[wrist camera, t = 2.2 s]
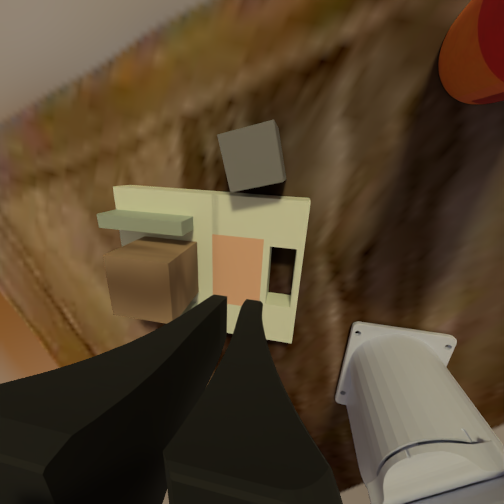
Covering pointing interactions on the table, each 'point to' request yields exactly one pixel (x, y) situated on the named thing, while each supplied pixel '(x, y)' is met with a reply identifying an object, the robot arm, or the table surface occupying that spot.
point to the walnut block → (152, 278)
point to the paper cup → (475, 54)
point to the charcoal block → (252, 156)
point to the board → (222, 242)
